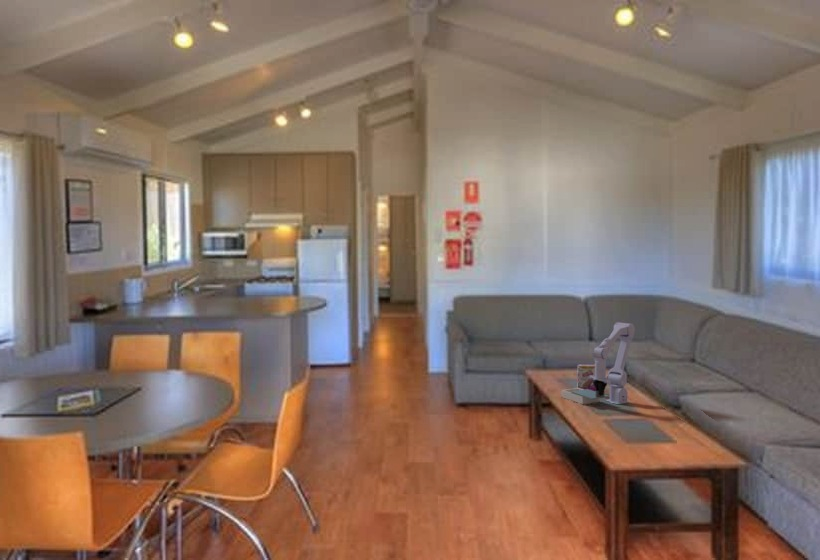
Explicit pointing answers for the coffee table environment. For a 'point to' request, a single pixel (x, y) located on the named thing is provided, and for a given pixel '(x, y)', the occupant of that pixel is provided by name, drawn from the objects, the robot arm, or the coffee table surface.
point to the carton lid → (590, 394)
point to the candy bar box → (585, 377)
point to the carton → (578, 397)
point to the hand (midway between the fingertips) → (600, 394)
